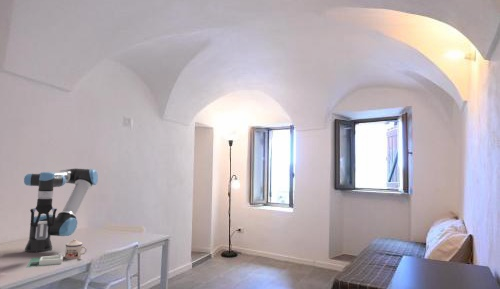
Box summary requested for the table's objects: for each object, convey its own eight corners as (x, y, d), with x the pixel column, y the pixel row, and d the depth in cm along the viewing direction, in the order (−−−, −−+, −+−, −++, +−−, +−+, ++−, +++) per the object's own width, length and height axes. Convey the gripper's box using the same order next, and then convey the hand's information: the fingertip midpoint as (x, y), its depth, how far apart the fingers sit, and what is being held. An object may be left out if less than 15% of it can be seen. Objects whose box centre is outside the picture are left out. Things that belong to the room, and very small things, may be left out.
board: (31, 260, 187) (32, 254, 187) (62, 258, 194) (63, 252, 194) (26, 269, 171) (26, 263, 171) (60, 266, 178) (60, 260, 178)
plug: (37, 238, 187) (39, 221, 188) (46, 237, 189) (47, 221, 190) (36, 240, 183) (37, 222, 184) (45, 239, 185) (46, 222, 186)
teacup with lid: (62, 260, 188) (64, 241, 189) (66, 256, 197) (68, 237, 198) (84, 260, 191) (85, 241, 192) (87, 256, 200) (89, 237, 201)
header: (40, 261, 182) (41, 256, 182) (62, 259, 187) (63, 255, 187) (38, 265, 175) (39, 260, 175) (61, 263, 180) (62, 258, 180)
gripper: (26, 198, 181) (22, 240, 179) (61, 198, 189) (57, 238, 187) (28, 197, 187) (24, 237, 186) (62, 197, 195) (59, 235, 194)
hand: (41, 237), depth 186 cm, fingers closed on plug, 4 cm apart
